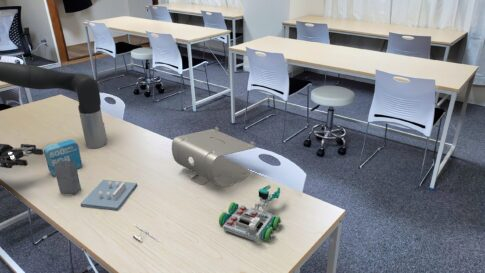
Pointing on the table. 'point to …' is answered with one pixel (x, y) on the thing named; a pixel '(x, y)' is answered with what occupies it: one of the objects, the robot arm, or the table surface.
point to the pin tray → (109, 195)
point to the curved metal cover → (211, 156)
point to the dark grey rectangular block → (67, 177)
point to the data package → (62, 154)
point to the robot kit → (251, 218)
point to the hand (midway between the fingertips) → (34, 157)
